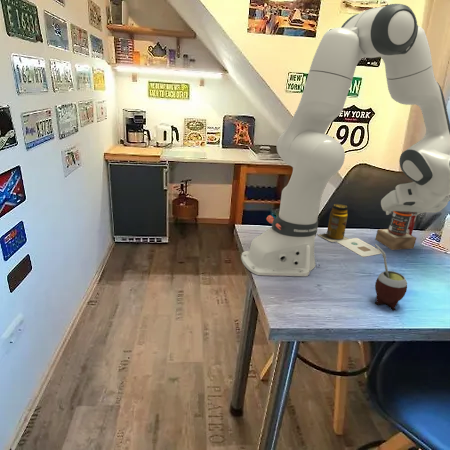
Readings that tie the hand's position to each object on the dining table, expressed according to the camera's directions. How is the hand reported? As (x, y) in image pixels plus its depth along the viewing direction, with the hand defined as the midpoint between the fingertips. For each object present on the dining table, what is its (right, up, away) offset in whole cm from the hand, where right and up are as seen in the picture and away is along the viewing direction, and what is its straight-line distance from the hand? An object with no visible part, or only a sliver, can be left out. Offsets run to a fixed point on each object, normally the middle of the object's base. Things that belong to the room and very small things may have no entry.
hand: (400, 213), depth 123 cm
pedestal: (-1, -11, +3) cm, 11 cm away
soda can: (+6, -8, +12) cm, 16 cm away
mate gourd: (-21, -24, -34) cm, 47 cm away
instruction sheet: (-15, -12, -1) cm, 19 cm away
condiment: (-22, -9, +5) cm, 24 cm away
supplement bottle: (0, -7, +2) cm, 7 cm away
